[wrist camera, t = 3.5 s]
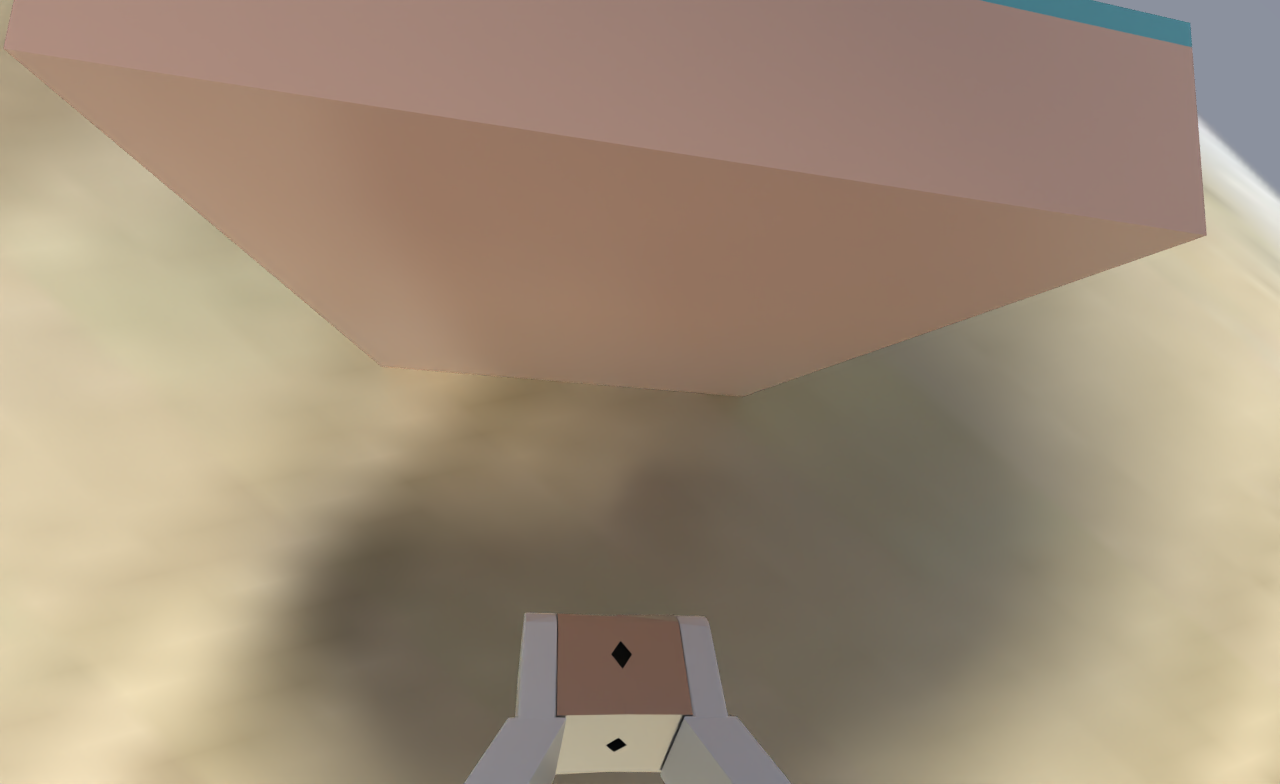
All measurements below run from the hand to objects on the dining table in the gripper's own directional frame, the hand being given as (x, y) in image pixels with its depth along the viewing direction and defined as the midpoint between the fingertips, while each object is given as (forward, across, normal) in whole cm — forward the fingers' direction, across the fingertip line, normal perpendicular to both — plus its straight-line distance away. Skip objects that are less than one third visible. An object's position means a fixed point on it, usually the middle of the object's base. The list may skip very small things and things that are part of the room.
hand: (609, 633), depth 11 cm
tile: (+11, 0, +1) cm, 11 cm away
